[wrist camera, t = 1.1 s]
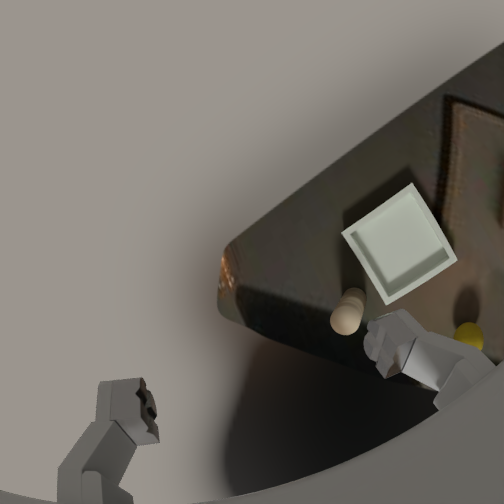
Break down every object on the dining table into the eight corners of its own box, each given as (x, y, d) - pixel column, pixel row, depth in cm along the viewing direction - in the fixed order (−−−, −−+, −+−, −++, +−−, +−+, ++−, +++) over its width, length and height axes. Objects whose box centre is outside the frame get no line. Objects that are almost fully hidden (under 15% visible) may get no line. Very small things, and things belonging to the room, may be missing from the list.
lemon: (448, 321, 42) (455, 341, 35) (475, 311, 39) (486, 329, 32) (452, 347, 42) (459, 370, 35) (479, 338, 39) (489, 359, 32)
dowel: (358, 282, 49) (350, 301, 40) (371, 303, 48) (365, 326, 39) (337, 295, 51) (324, 315, 42) (350, 315, 50) (339, 339, 41)
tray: (410, 183, 42) (412, 182, 39) (453, 256, 40) (457, 260, 38) (344, 230, 48) (341, 232, 46) (386, 299, 47) (386, 305, 44)
